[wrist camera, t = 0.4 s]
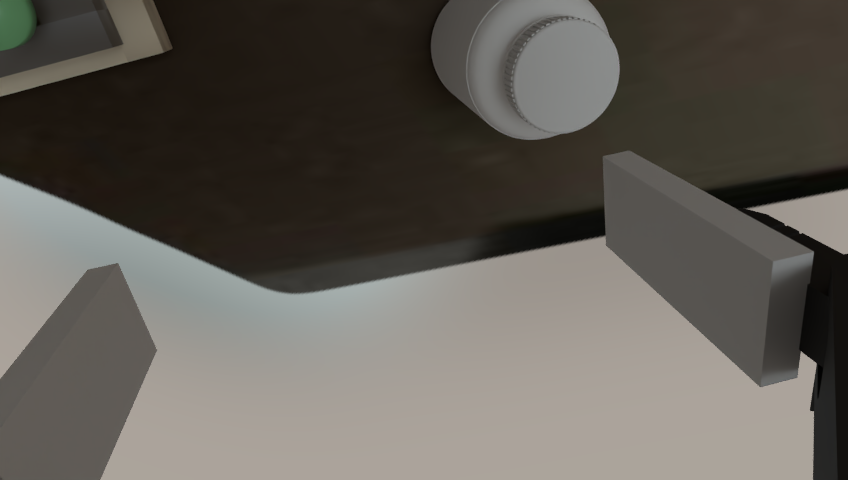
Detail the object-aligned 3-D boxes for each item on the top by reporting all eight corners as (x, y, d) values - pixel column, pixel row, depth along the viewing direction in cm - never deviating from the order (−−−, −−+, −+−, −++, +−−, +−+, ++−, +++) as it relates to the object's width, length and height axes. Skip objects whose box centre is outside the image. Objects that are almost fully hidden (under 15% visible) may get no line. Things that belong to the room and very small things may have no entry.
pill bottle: (449, 120, 42) (511, 184, 29) (412, 7, 39) (462, 19, 25) (551, 80, 42) (661, 125, 29) (523, -36, 39) (633, -47, 25)
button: (-39, -17, 30) (-71, -17, 28) (30, -34, 31) (3, -36, 28) (-1, 53, 32) (-29, 59, 29) (63, 35, 32) (41, 40, 30)
